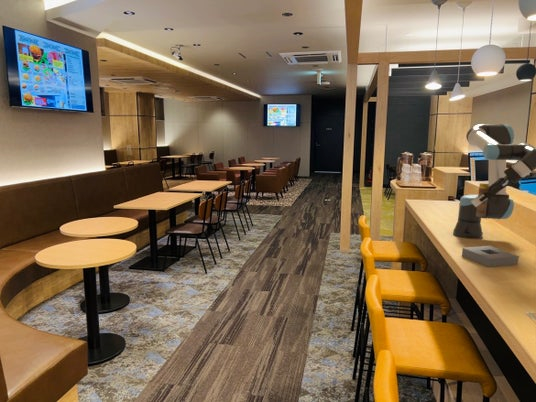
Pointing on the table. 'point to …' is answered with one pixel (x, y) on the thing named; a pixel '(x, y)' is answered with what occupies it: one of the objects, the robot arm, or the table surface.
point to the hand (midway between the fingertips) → (473, 204)
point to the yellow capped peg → (482, 207)
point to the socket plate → (490, 256)
